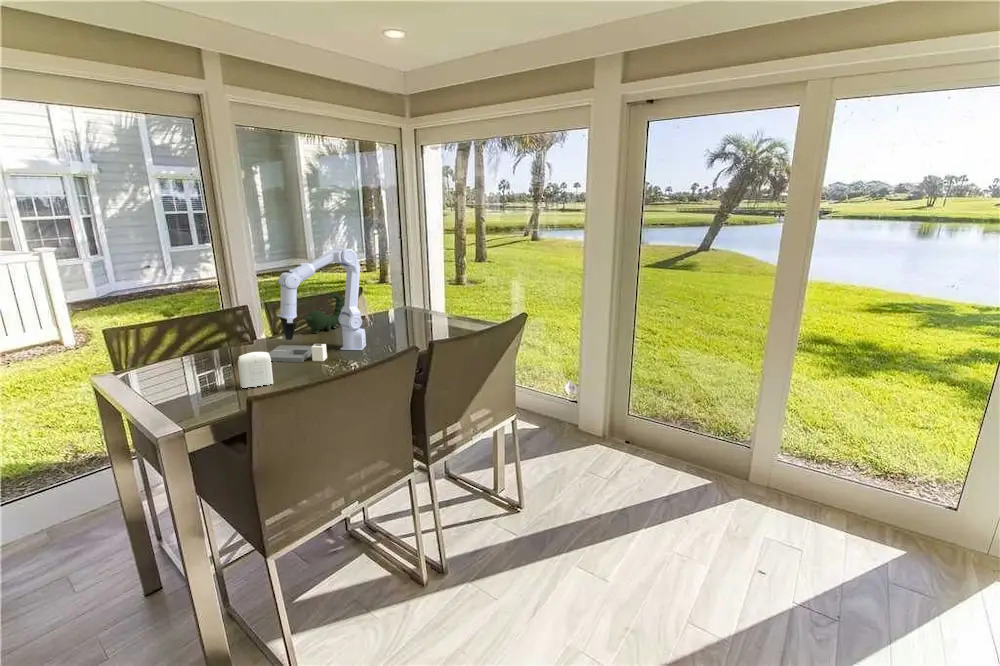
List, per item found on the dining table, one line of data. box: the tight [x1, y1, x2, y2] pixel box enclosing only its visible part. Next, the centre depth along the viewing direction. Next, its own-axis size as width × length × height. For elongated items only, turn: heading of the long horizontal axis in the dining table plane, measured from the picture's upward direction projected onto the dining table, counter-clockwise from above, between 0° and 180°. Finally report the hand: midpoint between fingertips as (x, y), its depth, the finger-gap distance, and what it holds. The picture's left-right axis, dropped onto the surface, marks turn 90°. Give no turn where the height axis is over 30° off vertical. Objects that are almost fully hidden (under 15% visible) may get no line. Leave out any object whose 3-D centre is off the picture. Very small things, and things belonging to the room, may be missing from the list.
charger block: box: [311, 343, 328, 362], centre depth 190 cm, size 4×4×7 cm
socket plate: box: [268, 344, 313, 363], centre depth 194 cm, size 16×16×2 cm
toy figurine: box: [303, 292, 345, 333], centre depth 230 cm, size 9×19×25 cm
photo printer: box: [237, 351, 274, 389], centre depth 161 cm, size 10×4×12 cm, turn 123°
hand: (288, 337), depth 184 cm, fingers open, 7 cm apart
